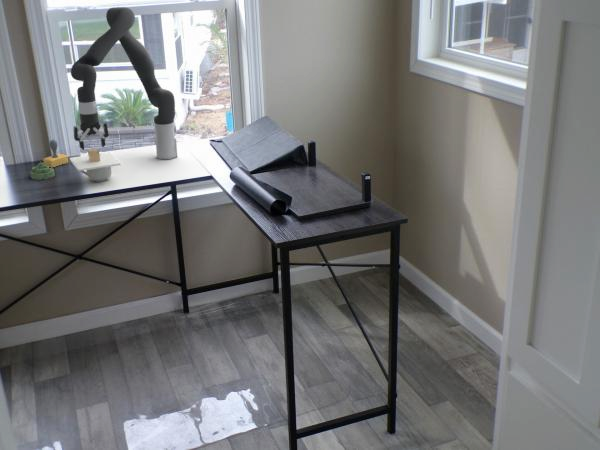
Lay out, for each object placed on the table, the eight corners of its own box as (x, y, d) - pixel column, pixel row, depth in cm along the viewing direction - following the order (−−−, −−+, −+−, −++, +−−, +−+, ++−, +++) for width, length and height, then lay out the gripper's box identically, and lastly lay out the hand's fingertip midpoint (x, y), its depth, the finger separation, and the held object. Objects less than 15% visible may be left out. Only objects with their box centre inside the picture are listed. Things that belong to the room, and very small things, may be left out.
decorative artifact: (32, 173, 305) (29, 180, 296) (30, 158, 302) (27, 165, 293) (55, 172, 307) (53, 179, 298) (53, 157, 304) (51, 164, 295)
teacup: (116, 176, 302) (114, 159, 299) (107, 184, 292) (105, 166, 289) (86, 174, 303) (84, 157, 300) (76, 182, 294) (74, 165, 290)
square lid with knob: (110, 154, 306) (108, 141, 304) (120, 165, 292) (119, 152, 289) (69, 159, 298) (67, 147, 296) (78, 171, 284) (76, 158, 281)
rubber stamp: (60, 160, 322) (57, 136, 317) (68, 162, 320) (65, 138, 315) (43, 166, 314) (39, 141, 310) (52, 168, 312) (48, 143, 307)
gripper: (103, 107, 292) (107, 143, 298) (69, 111, 286) (74, 148, 292) (107, 111, 286) (111, 148, 292) (72, 115, 279) (78, 152, 286)
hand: (93, 148), depth 292 cm, fingers open, 8 cm apart
